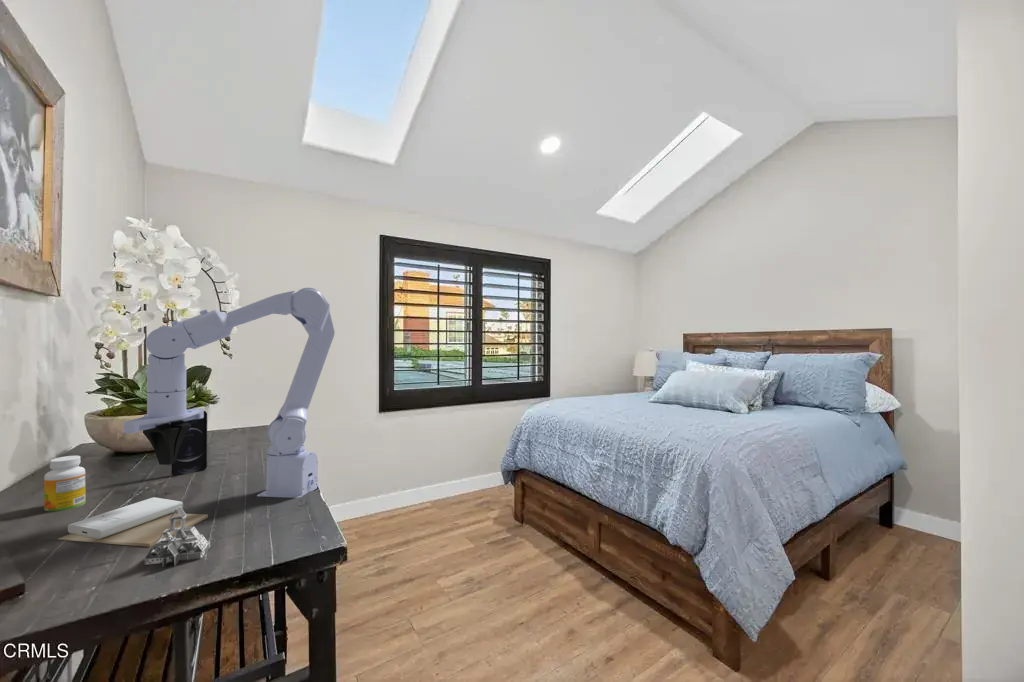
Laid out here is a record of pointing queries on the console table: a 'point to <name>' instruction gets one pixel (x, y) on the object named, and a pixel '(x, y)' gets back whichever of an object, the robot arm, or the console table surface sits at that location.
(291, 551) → the console table surface
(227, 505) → the console table surface
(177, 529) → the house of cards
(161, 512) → the external hard drive
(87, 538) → the birch board
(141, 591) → the console table surface
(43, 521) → the console table surface
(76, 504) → the supplement bottle
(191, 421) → the smartphone
